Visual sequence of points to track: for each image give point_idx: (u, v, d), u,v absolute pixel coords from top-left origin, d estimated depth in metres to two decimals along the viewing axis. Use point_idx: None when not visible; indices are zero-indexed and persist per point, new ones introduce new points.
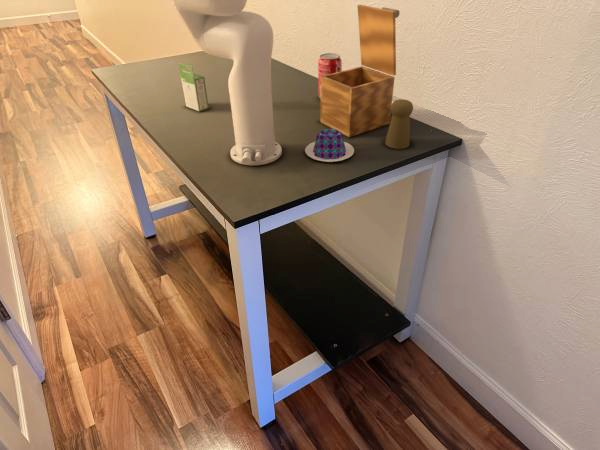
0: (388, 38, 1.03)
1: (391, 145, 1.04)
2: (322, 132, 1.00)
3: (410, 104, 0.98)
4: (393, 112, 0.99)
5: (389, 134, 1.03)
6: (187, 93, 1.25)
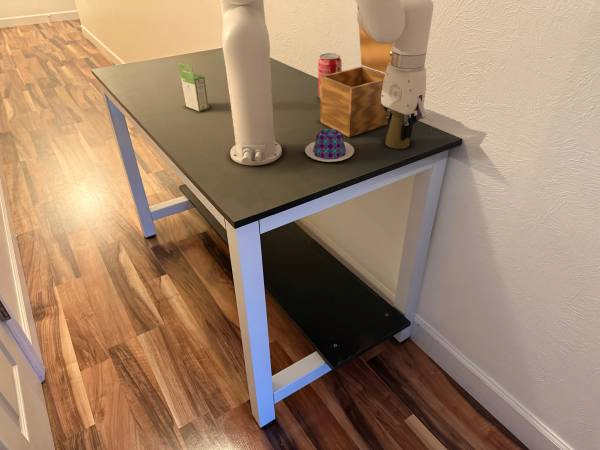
0: None
1: (391, 145, 1.04)
2: (322, 132, 1.00)
3: None
4: (393, 112, 0.99)
5: (389, 134, 1.03)
6: (187, 93, 1.25)
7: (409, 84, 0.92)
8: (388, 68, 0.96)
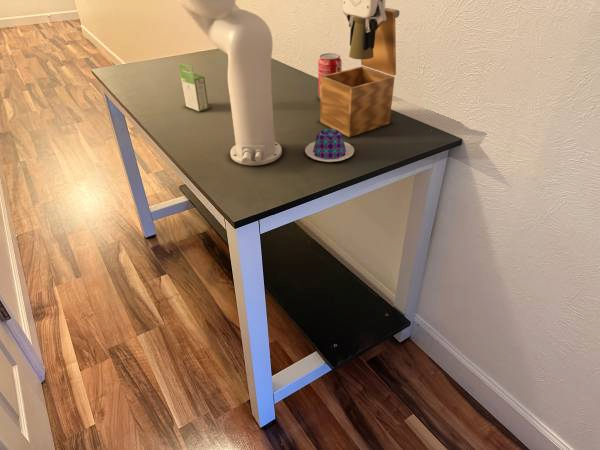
0: (388, 38, 1.03)
1: (354, 56, 1.01)
2: (322, 132, 1.00)
3: None
4: (355, 18, 0.97)
5: (352, 44, 1.01)
6: (187, 93, 1.25)
7: None
8: None
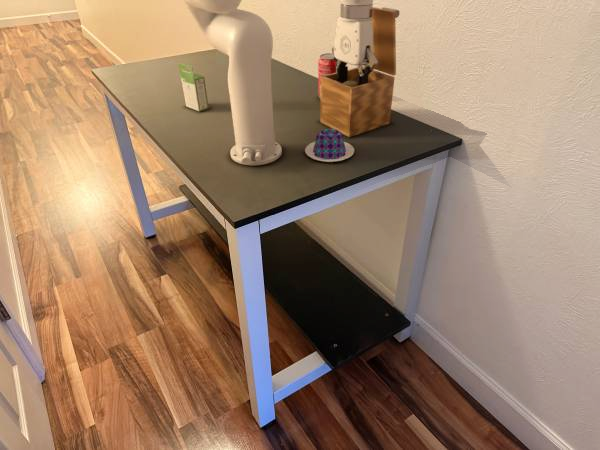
0: (388, 38, 1.03)
1: None
2: (322, 132, 1.00)
3: None
4: None
5: None
6: (187, 93, 1.25)
7: (356, 34, 0.98)
8: (338, 21, 1.01)
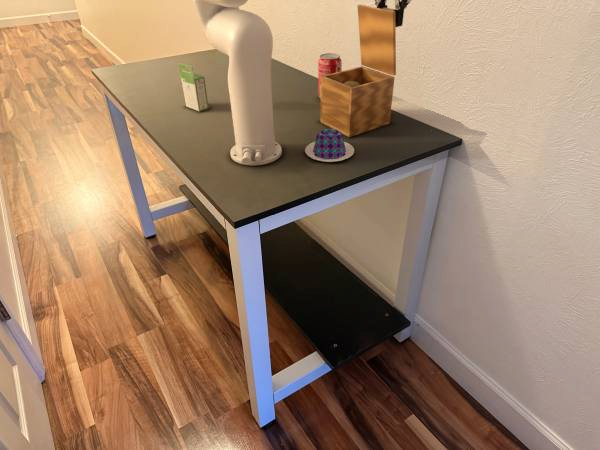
0: (388, 38, 1.03)
1: None
2: (322, 132, 1.00)
3: (358, 85, 1.08)
4: None
5: None
6: (187, 93, 1.25)
7: None
8: None
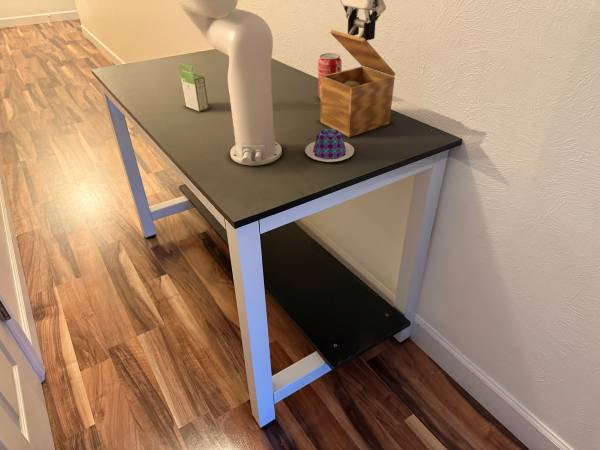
0: (372, 55, 1.02)
1: None
2: (322, 132, 1.00)
3: (358, 85, 1.08)
4: None
5: None
6: (187, 93, 1.25)
7: None
8: None
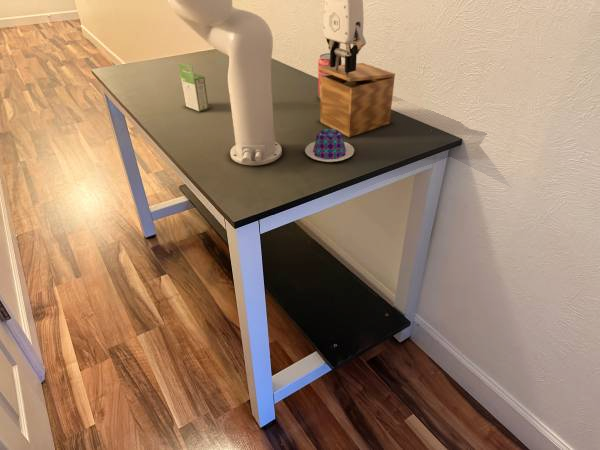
0: None
1: None
2: (322, 132, 1.00)
3: (358, 85, 1.08)
4: None
5: None
6: (187, 93, 1.25)
7: (345, 10, 0.93)
8: None
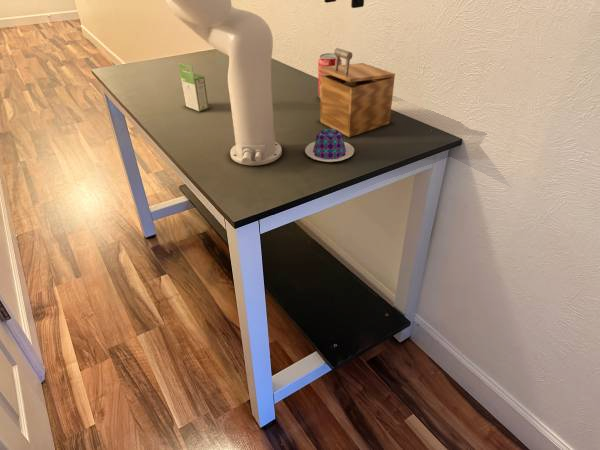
0: None
1: None
2: (322, 132, 1.00)
3: (358, 85, 1.08)
4: None
5: None
6: (187, 93, 1.25)
7: None
8: None
